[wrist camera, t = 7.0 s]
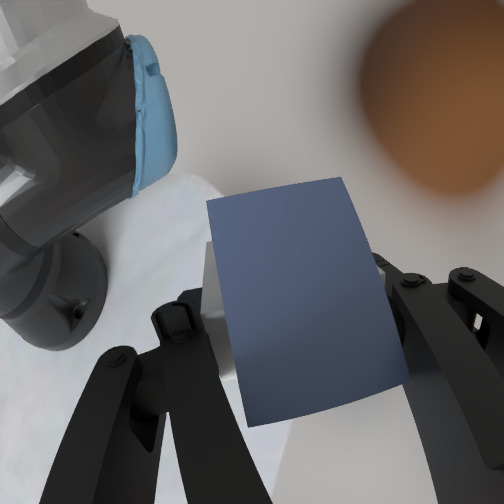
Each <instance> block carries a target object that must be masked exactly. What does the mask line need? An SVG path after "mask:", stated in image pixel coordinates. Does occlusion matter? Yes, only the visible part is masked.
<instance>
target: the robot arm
mask: <svg viewBox="0 0 504 504" xmlns="http://www.w3.org/2000/svg"><path fill="white" fill-rule="evenodd" d="M176 157H177V133H176V126H175V120H174V114H173V109H172V105H171V101H170V96H169V93H168V89H167V86H166V82H165V79H164V77H163V76H162V75H161V74H160V67H159V63H158V59H157V56H156V54H155V51H154V50H153V47H152V45H151V44H150V42H149V41H148V39H146V38H145V37H144V36H141V35H128V36H126V38H124V36H123V33H122V31H121V28H120V25H119V22H118V20H117V19H115V18H112V17H108V16H105V15H102V14H99V13H96V12H94V11H92V10H91V9H89V8H88V6H87V2H86V0H0V318H1V319H3V320H4V321H5V322H6V323H7V324H8V325H9V326H10V327H11V328H12V329H13V330H14V331H15V332H17V333H18V334H19V335H20V336H21V337H22V338H23V339H24V340H25V341H27V342H28V343H30V344H32V345H33V346H36V347H39V348H42V349H46V350H51V351H60V350H65V349H68V348H70V347H72V346H74V345H76V344H77V343H79V342H80V341H81V340H82V339H84V338H85V337H86V335H87V334H88V333H89V332H90V331H91V329H92V328H93V326H94V325H95V323H96V321H97V320H98V318H99V315H100V313H101V310H102V308H103V304H104V300H105V296H106V288H107V276H106V269H105V264H104V261H103V258H102V256H101V254H100V252H99V251H98V249H97V248H96V247H95V246H94V245H93V244H92V243H91V242H90V241H89V240H88V239H87V238H86V237H85V236H84V235H82V234H81V233H79V232H77V231H75V230H76V229H77V228H79V227H80V226H82V225H83V224H85V223H87V222H88V221H90V220H91V219H93V218H95V217H96V216H98V215H100V214H101V213H103V212H105V211H106V210H108V209H110V208H111V207H113V206H115V205H117V204H118V203H120V202H122V201H123V200H125V199H127V198H128V199H132V198H134V197H135V196H136V195H137V194H138V193H139V191H141V190H142V189H144V188H146V187H147V186H149V185H151V184H152V183H154V182H156V181H157V180H159V179H161V178H162V177H164V176H165V175H166V174H168V173H169V171H170V170H171V168H172V166H173V164H174V163H175V160H176ZM372 254H373V257H374V260H375V262H376V265H377V268H378V271H379V274H380V277H381V280H382V283H383V286H384V289H385V292H386V295H387V298H388V301H389V304H390V307H391V310H392V314H393V317H394V320H395V324H396V327H397V331H398V334H399V338H400V341H401V345H402V349H403V353H404V356H405V360H406V364H407V368H408V372H409V377H410V381H408V382H406V383H404V384H402V385H403V388H404V391H405V393H406V396H407V399H408V402H409V405H410V408H411V411H412V414H413V417H414V420H415V423H416V426H417V429H418V432H419V435H420V439H421V442H422V445H423V448H424V452H425V455H426V459H427V462H428V465H429V469H430V473H431V477H432V481H433V484H434V488H435V492H436V496H437V501H438V504H504V287H503V286H501V285H500V284H498V283H496V282H495V281H493V280H492V279H490V278H488V277H487V276H485V275H483V274H482V273H480V272H478V271H476V270H474V269H470V268H468V267H464V268H463V267H460V268H456V269H454V270H452V271H451V272H450V274H449V279H448V283H440V284H432V282H431V281H430V280H429V279H428V278H426V277H425V276H423V275H420V274H416V273H404V274H403V273H402V272H401V271H400V270H398V269H397V268H396V267H394V266H393V265H392V264H390V263H389V262H388V261H387V260H385V259H384V258H383V257H381V256H380V255H378V254H376V253H373V252H372ZM477 314H479V315H480V316H481V317H483V318H482V322H481V326H480V329H479V330H478V329H476V328H475V327H474V323H475V319H476V315H477ZM151 320H152V323H153V325H154V328H155V331H156V333H157V336H158V338H159V341H160V346H159V347H157V348H155V349H153V350H151V351H148V352H145V353H142V354H139V355H137V352H136V351H135V349H134V348H133V347H130V346H118V347H113V348H112V349H109V350H107V351H106V352H105V353H104V354H102V355H101V356H100V358H99V359H98V361H97V363H96V365H95V367H94V369H93V371H92V373H91V375H90V377H89V379H88V382H87V384H86V386H85V388H84V390H83V392H82V395H81V397H80V399H79V401H78V403H77V406H76V408H75V410H74V413H73V415H72V417H71V420H70V422H69V424H68V427H67V429H66V432H65V434H64V436H63V439H62V441H61V444H60V446H59V449H58V452H57V454H56V457H55V459H54V462H53V465H52V468H51V470H50V473H49V476H48V479H47V482H46V484H45V487H44V490H43V493H42V496H41V500H40V503H39V504H154V501H155V493H156V485H157V477H158V469H159V462H160V454H161V448H162V441H163V434H164V428H165V421H166V412H169V415H170V421H171V427H172V433H173V438H174V444H175V449H176V454H177V459H178V463H179V468H180V473H181V477H182V482H183V486H184V490H185V494H186V498H187V502H188V504H273V503H272V501H271V499H270V497H269V495H268V493H267V490H266V488H265V486H264V484H263V482H262V480H261V478H260V475H259V473H258V471H257V469H256V466H255V464H254V462H253V460H252V457H251V455H250V453H249V450H248V448H247V446H246V443H245V441H244V439H243V436H242V434H241V431H240V429H239V427H238V424H237V422H236V419H235V417H234V414H233V412H232V409H231V407H230V404H229V402H228V399H227V396H226V394H225V391H224V389H223V386H222V383H221V381H220V378H219V374H220V377H221V380H222V381H228V380H234V379H237V374H236V369H235V364H234V359H233V354H232V348H231V343H230V338H229V333H228V328H227V322H226V317H225V311H224V306H223V300H222V295H221V289H220V283H219V278H218V272H217V266H216V260H215V254H214V248H213V242H212V241H211V242H207V244H206V254H205V265H204V276H203V287H201V288H196V289H191V290H186V291H183V293H182V294H181V295H180V296H179V297H178V299H177V301H172V302H169V303H166V304H164V305H162V306H160V307H159V308H157V309H156V310H155V311H154V312H153V313H152V316H151Z"/></svg>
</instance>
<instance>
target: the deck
mask: <svg viewBox="0 0 504 504" xmlns="http://www.w3.org/2000/svg"><path fill="white" fill-rule="evenodd" d="M206 203H207V210H208V216H209V223H210V229H211V235H212V242H213V248H214V254H215V260H216V266H217V272H218V278H219V283H220V289H221V295H222V300H223V306H224V311H225V317H226V322H227V328H228V333H229V338H230V343H231V348H232V354H233V359H234V364H235V369H236V374H237V379H238V383H239V388H240V393H241V398H242V402H243V407H244V412H245V416H246V421H247V425H248V428H249V427H254V426H260V425H265V424H270V423H275V422H279V421H284V420H288V419H293V418H297V417H301V416H305V415H309V414H313V413H317V412H320V411H324V410H327V409H331V408H334V407H338V406H341V405H344V404H348V403H351V402H354V401H357V400H360V399H363V398H366V397H369V396H371V395H374V394H377V393H380V392H383V391H385V390H388V389H391V388H393V387H396V386H399V385H401V384H404V383H406V382H408V381H410V377H409V372H408V368H407V364H406V360H405V356H404V353H403V349H402V345H401V341H400V338H399V334H398V331H397V327H396V324H395V320H394V317H393V314H392V310H391V307H390V304H389V301H388V298H387V295H386V292H385V289H384V286H383V283H382V280H381V277H380V274H379V271H378V268H377V265H376V262H375V260H374V257H373V254H372V252H371V249H370V246H369V243H368V241H367V238H366V236H365V233H364V231H363V228H362V225H361V223H360V220H359V218H358V215H357V213H356V211H355V208H354V206H353V204H352V201H351V199H350V196H349V194H348V192H347V189H346V187H345V185H344V183H343V181H342V178H341V177H337V178H330V179H323V180H318V181H311V182H305V183H298V184H292V185H287V186H281V187H275V188H270V189H264V190H259V191H253V192H248V193H243V194H238V195H233V196H228V197H223V198H218V199H213V200H208V201H206Z"/></svg>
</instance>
